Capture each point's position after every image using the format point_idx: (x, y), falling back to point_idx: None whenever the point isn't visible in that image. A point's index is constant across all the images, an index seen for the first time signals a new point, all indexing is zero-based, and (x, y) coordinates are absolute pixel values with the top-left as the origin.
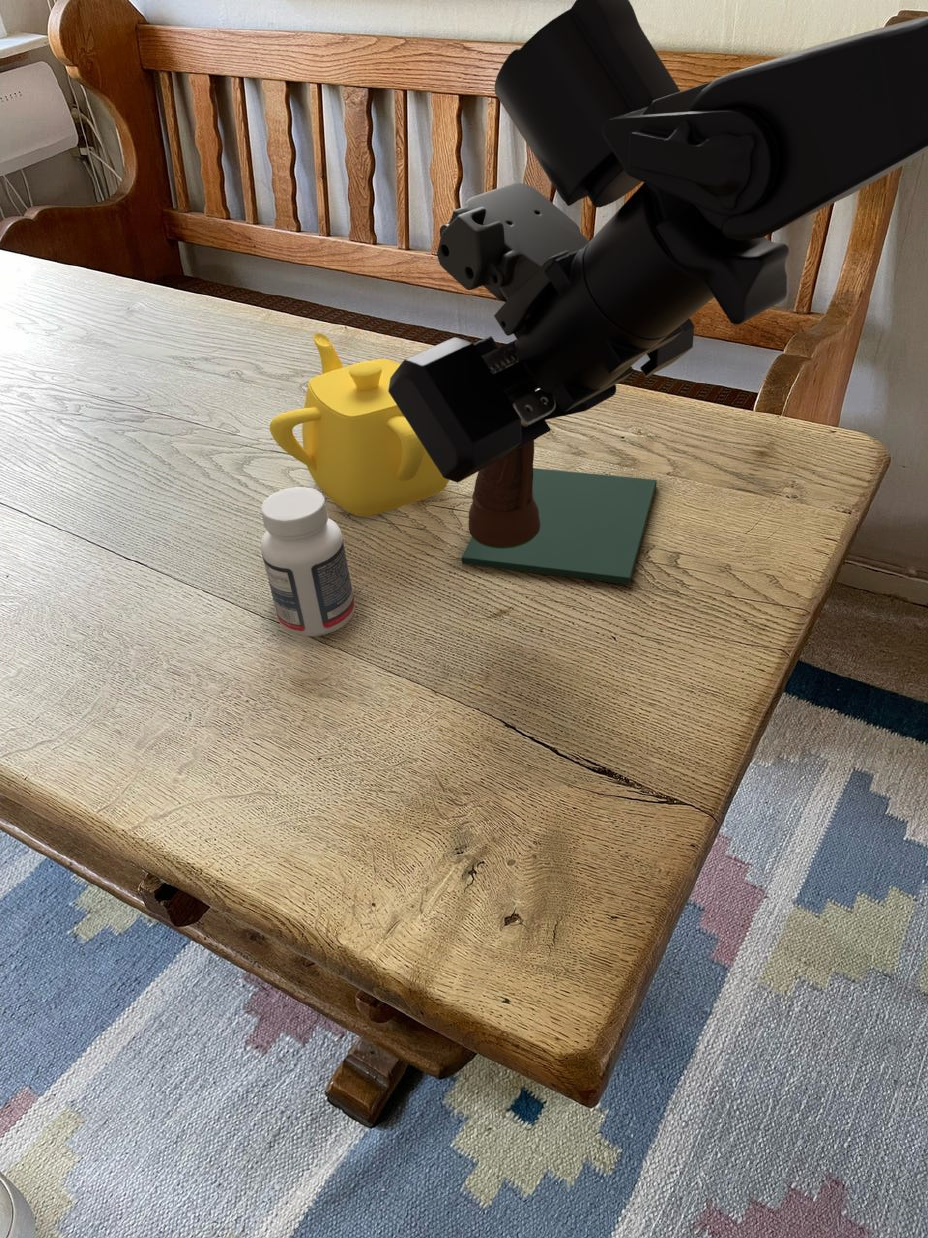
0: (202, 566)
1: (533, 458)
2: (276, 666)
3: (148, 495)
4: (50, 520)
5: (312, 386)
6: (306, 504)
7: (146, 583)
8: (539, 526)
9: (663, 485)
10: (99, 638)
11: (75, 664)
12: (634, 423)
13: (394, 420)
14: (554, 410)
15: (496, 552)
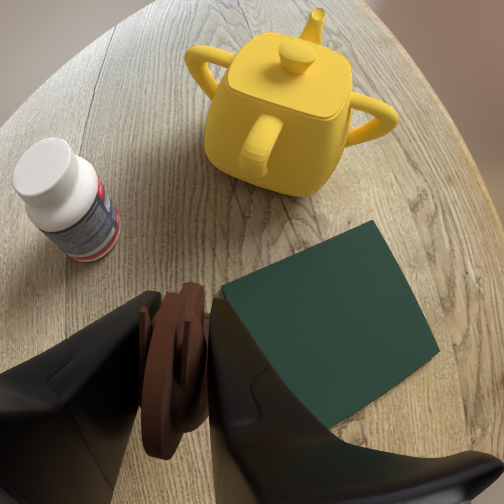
0: (105, 122)
1: (178, 444)
2: (33, 252)
3: (160, 49)
4: (113, 40)
5: (255, 38)
6: (40, 177)
7: (76, 114)
8: None
9: (440, 355)
10: (24, 140)
11: (4, 151)
12: (483, 267)
13: (263, 120)
14: (216, 499)
15: (250, 310)
